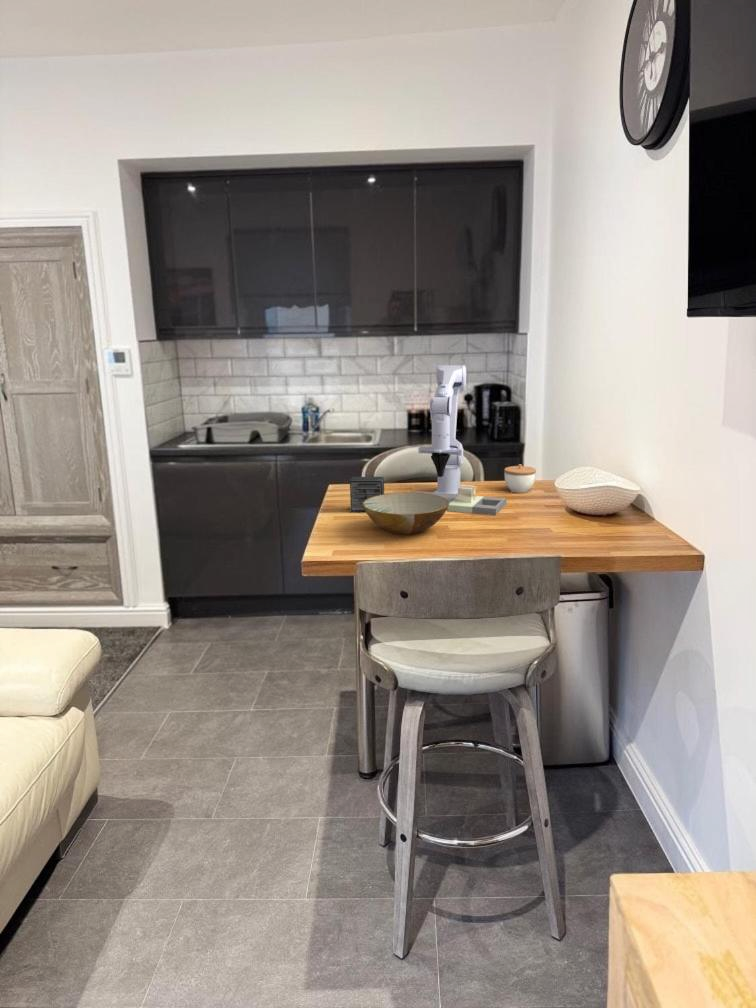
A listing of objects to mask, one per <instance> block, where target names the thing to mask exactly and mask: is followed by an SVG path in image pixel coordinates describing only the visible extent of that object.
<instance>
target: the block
mask: <svg viewBox="0 0 756 1008" xmlns="http://www.w3.org/2000/svg"><path fill="white" fill-rule="evenodd" d="M457 494H458V502H467V503H472V502H473V501H474V500H475V496H476V486H475V485H469V484H468V485H467V484H465V485H464V484H460V487H459V488H458V493H457Z"/></svg>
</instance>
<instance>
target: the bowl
mask: <svg viewBox="0 0 756 1008" xmlns="http://www.w3.org/2000/svg"><path fill="white" fill-rule="evenodd" d="M362 506H363V508H364V510H365V511H366V512H365V513H366V515H368V517H369V519H370V520H371V521H372V522H373V523H375V524H376V525H377V526H378V527H380V528H382V529H384V530H385V531H387V532H389V533H391V534H394V535H395V534H396V535H405V536H406V535H408V536H409V535H417V534H420V532H421V533H423V532H424V531H426V530H428V529H429V528H431V527H433V526H434V525H435V524H437V523H438V521H440V520H441V519H442V517H443V516H444V515H445V514H446V512H447V511H446V510H447V508H448V506H449V501H448V500H447V499H445V498H443V497H440V496H436V495H432V494H425V493H413V491H411V492H408V491H407V492H390V493H384V494H382V495H377V496H373V497H370V498H368V499H366V500H364V501H363V503H362Z"/></svg>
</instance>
